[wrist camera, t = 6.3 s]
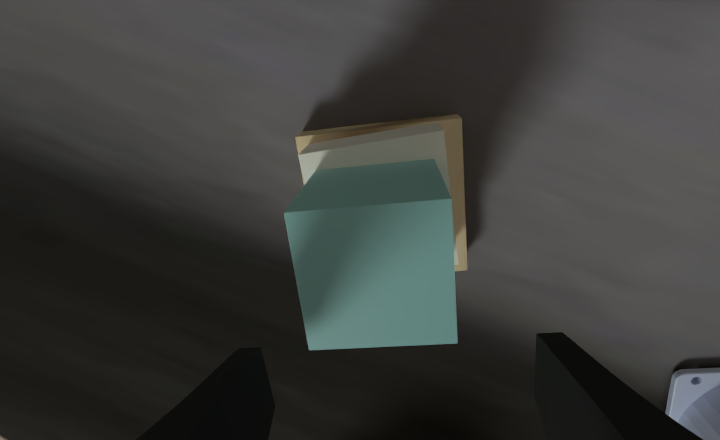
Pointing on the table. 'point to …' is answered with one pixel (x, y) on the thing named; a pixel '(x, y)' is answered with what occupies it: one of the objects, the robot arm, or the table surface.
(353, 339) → the teal block
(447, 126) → the oak slab
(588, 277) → the table surface
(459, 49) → the table surface
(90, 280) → the table surface
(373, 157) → the cream slab
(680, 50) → the table surface
